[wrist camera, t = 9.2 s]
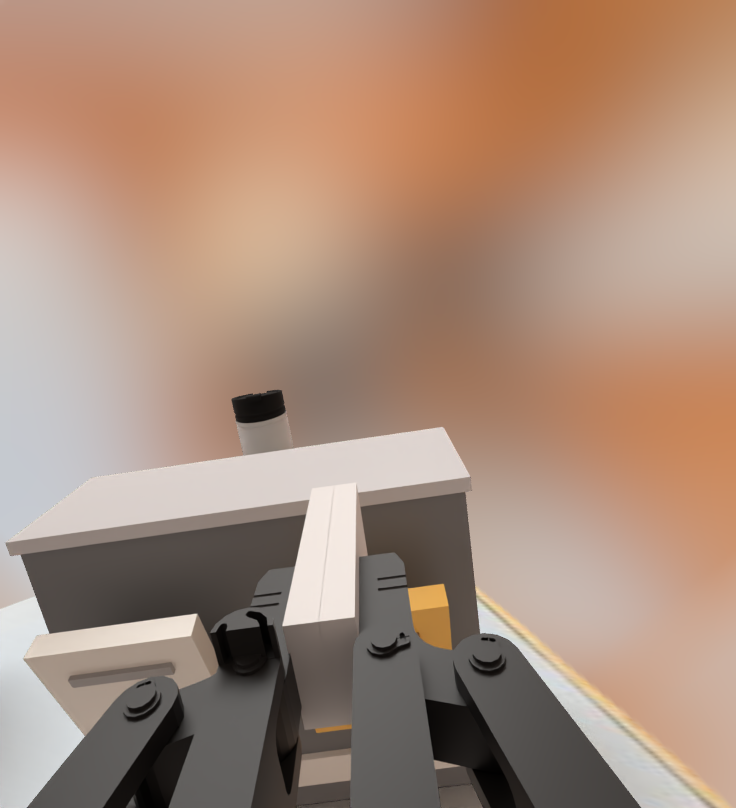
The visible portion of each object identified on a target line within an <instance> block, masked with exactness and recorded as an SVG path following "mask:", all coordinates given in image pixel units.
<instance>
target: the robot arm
mask: <svg viewBox="0 0 736 808" xmlns="http://www.w3.org/2000/svg"><path fill="white" fill-rule="evenodd" d="M210 635H211V639H212V643H213V646H214V650H215V654H216V658H217V662H218V665H219V666H218V669H217V671H216V673H215V674H214V675H212V676H211V677H209V678H206V679H204V680H202V681H200V682H197V683H194V684H192V685H189V686H187V687H184V688H181V689H179V688H178V685H177V684H176V682H175V681H174V680H173V679H172V678H169V677H166V676H156V677H150V678H147V679H144V680H142V681H139V682H137V683H136V684H134V685H132V686H131V687H129V688H128V689H126V690H125V691H124V692H123V693H122V694H121V695H120V696H119V697H118V698H117V699H116V700H115V701H114V702H113V703H112V704H111V705H110V707H109V708H108V709H107V710H106V712H105V713H104V714H103V715H102V716H101V718H100V719H99V720H98V721H97V723H96V724H95V725H94V726H93V727H92V729H91V730H90V731H89V732H88V734H87V735H86V736H85V737H84V738H83V740H82V741H81V742H80V743H79V745H78V746H77V747H76V748H75V749H74V751H73V752H72V753H71V754H70V756H69V757H68V758H67V759H66V760H65V762H64V763H63V764H62V765H61V767H60V768H59V769H58V770H57V771H56V773H55V774H54V775H53V776H52V778H51V779H50V780H49V781H48V782H47V784H46V785H45V786H44V787H43V789H42V790H41V791H40V792H39V793H38V795H37V796H36V797H35V798H34V800H33V801H32V802H31V803H30V804H29V806H28V807H27V808H296V803H297V794H298V786H299V777H300V768H301V760H302V747H301V741H300V736H299V724H300V717H301V715H302V720H303V724H304V729H305V730H309V729H317V728H325V727H333V726H341V725H350V724H352V733H351V784H350V808H441V805H440V799H439V792H438V785H437V778H436V772H435V765H434V760H436V761H440V762H445V763H449V764H454V765H459V766H463V767H466V771H467V774H468V776H469V778H470V781H471V783H472V785H473V787H474V789H475V791H476V793H477V795H478V798H479V800H480V802H481V804H482V806H483V808H641V807H640V806H639V804H638V803H637V802H636V800H635V799H634V798H633V797H632V795H631V794H630V793H629V791H628V790H627V789H626V787H625V786H624V785H623V784H622V782H621V781H620V780H619V778H618V777H617V776H616V775H615V773H614V772H613V771H612V769H611V768H610V767H609V765H608V764H607V763H606V762H605V760H604V759H603V758H602V756H601V755H600V754H599V753H598V751H597V750H596V749H595V747H594V746H593V745H592V743H591V742H590V741H589V740H588V738H587V737H586V736H585V734H584V733H583V732H582V731H581V729H580V728H579V727H578V725H577V724H576V723H575V721H574V720H573V719H572V718H571V716H570V715H569V714H568V712H567V711H566V710H565V709H564V707H563V706H562V705H561V703H560V702H559V701H558V699H557V698H556V697H555V696H554V694H553V693H552V692H551V690H550V689H549V688H548V687H547V685H546V684H545V683H544V681H543V680H542V679H541V677H540V676H539V675H538V674H537V672H536V671H535V670H534V668H533V667H532V666H531V665H530V663H529V662H528V661H527V659H526V658H525V657H524V655H523V654H522V653H521V652H520V650H519V649H518V648H517V647H516V646H515V645H514V644H513V643H512V642H510V641H509V640H508V639H505V638H503V637H501V636H498V635H494V634H486V633H482V634H476V635H471V636H469V637H467V638H465V639H463V640H462V641H461V642H460V643H459V644H458V645H457V646H456V648H455V650H449V649H443V648H439V647H434V646H432V645H430V644H428V643H426V642H425V641H423V640H422V639H421V638H420V637H419V636H418V635H417V633H416V632H415V629H414V626H413V620H412V614H411V607H410V600H409V594H408V587H407V581H406V574H405V567H404V562H403V561H402V560H401V559H400V558H399V556H398V555H397V554H396V553H395V552H393V553H385V554H378V555H370V556H368V554H367V547H366V541H365V534H364V528H363V522H362V515H361V509H360V502H359V496H358V489H357V483H348V484H341V485H333V486H326V487H318V488H312V491H311V495H310V500H309V505H308V509H307V514H306V519H305V523H304V528H303V533H302V537H301V542H300V547H299V551H298V556H297V560H296V565H295V567H288V568H280V569H272V570H269V571H268V572H267V573H266V574H265V575H264V576H263V577H262V579H261V580H260V581H259V582H258V584H257V587H256V591H255V594H254V598H253V600H252V603H251V606H250V607H248V608H244V609H240V610H236V611H234V612H232V613H231V614H229V615H227V616H225V617H224V618H222V619H221V620H220V621H219V622H218V623H216V624H215V626H214V627H213V629H212V630H211V632H210Z"/></svg>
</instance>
